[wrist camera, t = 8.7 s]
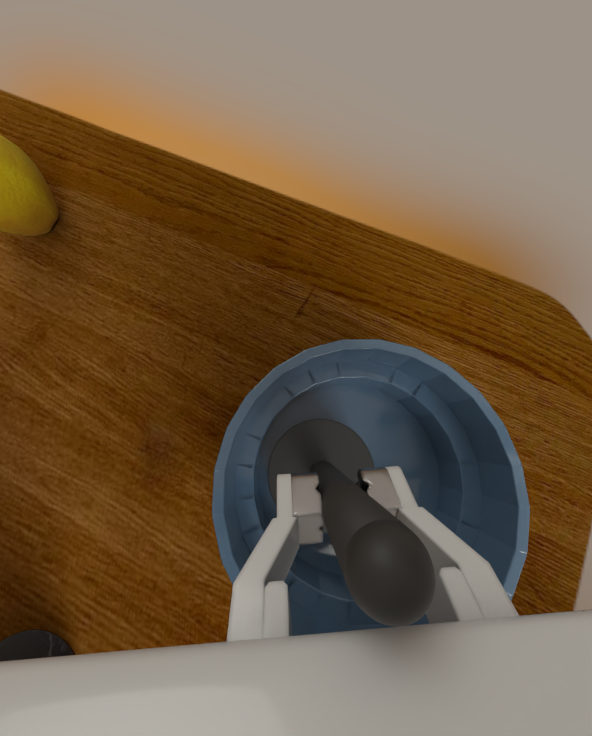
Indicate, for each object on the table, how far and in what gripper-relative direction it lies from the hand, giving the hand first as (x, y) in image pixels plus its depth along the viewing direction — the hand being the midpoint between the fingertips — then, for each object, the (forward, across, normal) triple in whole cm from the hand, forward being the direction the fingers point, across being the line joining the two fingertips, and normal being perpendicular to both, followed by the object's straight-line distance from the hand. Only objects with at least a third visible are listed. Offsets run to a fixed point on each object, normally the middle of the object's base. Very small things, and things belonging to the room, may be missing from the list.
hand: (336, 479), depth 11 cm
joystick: (+6, 0, +7) cm, 9 cm away
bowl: (+7, -2, +8) cm, 11 cm away
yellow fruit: (+23, +23, -8) cm, 33 cm away
